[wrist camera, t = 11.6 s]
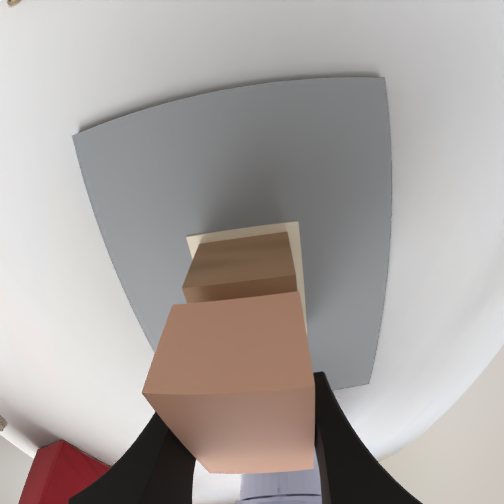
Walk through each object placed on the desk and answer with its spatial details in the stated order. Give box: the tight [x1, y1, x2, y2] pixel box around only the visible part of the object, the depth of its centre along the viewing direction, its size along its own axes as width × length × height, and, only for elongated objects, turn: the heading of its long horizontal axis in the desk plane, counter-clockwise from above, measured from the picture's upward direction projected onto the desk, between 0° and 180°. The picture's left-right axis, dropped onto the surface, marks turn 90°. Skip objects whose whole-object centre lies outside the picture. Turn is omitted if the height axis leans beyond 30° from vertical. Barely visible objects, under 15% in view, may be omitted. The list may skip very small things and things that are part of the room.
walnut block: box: [182, 232, 297, 304], centre depth 15 cm, size 7×5×4 cm, turn 9°
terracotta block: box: [142, 291, 315, 474], centre depth 10 cm, size 7×5×4 cm, turn 9°
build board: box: [72, 77, 392, 390], centre depth 17 cm, size 22×16×1 cm
